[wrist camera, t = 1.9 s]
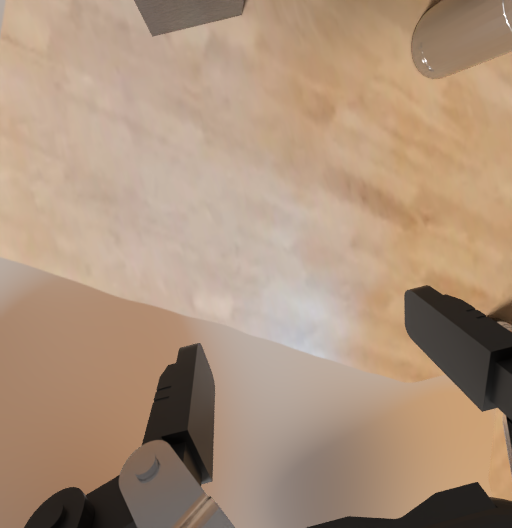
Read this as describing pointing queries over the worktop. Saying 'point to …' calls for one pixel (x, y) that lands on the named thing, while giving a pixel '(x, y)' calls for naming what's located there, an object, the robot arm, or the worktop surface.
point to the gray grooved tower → (185, 13)
